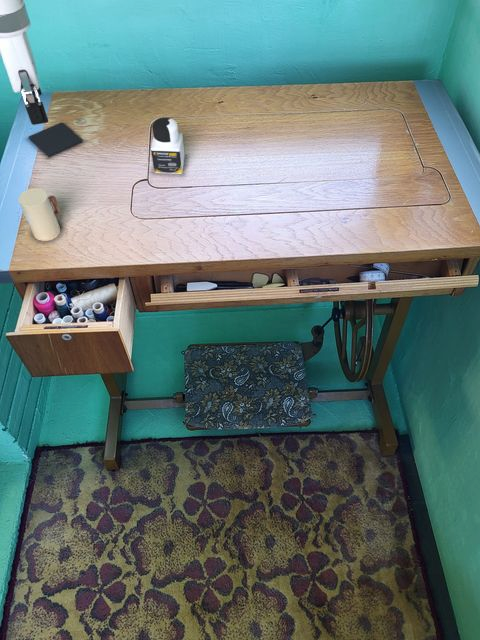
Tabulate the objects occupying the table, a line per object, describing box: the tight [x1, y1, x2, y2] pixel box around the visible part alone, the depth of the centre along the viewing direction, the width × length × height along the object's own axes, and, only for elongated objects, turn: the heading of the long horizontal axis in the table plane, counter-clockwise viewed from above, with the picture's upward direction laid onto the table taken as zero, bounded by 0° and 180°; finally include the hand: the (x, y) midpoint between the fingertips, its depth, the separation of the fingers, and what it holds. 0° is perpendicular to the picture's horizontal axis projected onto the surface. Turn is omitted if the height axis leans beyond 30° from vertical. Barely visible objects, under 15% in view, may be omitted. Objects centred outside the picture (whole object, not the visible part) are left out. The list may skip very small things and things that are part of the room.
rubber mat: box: [28, 122, 83, 158], centre depth 138 cm, size 10×10×1 cm
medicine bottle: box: [150, 117, 186, 175], centre depth 130 cm, size 7×7×12 cm
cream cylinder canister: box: [17, 187, 61, 242], centre depth 117 cm, size 8×6×10 cm
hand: (37, 108), depth 105 cm, fingers open, 9 cm apart
